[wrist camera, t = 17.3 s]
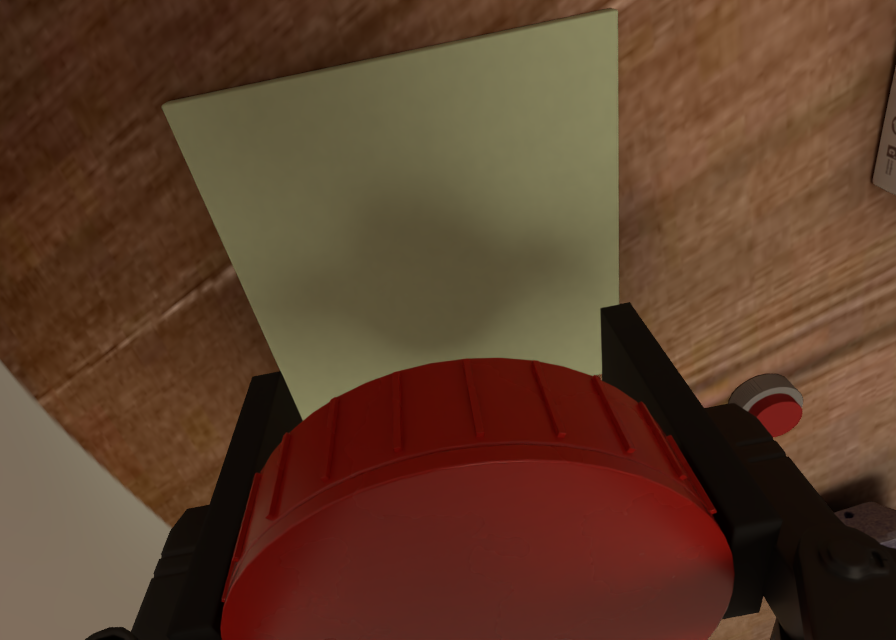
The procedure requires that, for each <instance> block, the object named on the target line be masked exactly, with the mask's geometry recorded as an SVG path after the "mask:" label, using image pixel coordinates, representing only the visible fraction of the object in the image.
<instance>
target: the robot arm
mask: <svg viewBox="0 0 896 640" xmlns="http://www.w3.org/2000/svg"><path fill="white" fill-rule="evenodd" d="M600 316H601V351H602V381H604V382H606V383H608V384H610V385H612V386H614V387H616V388H618V389H619V390H621V391H622V392H624V393H625V394H626V395H628V396H629V397H631V398H632V399H634V400H635V401H637V402H638V403H639V402H641V401H642V402H643V403H644V404H645V405H646V407H647V409H648V410H649V412H650V414H651V416H652V417H653V418H654V419H655V420H656V422H657V423H658V425H659V426H660V427H661V429H662V430H663V432H664V433H665V434H666V436H669V435H672V437H673V439H674V441H675V442H676V444H677V446H678V447H679V449H680V451H681V452H682V454H683V456H684V457H685V459H686V461H687V462H688V464H689V466H690V467H691V469H692V471H693V472H694V474H695V476H696V477H697V479H698V481H699V482H700V484H701V486H702V487H703V489H704V491H705V492H706V494H707V496H708V497H709V499H710V501H711V502H712V504H713V506H714V508H715V509H716V511H717V512H716V513H714V514H712V515H713V516H714V518H715V520H716V522H717V523H718V525H719V527H720V528H721V530H722V532H723V533H724V535H725V537H726V540H727V542H728V545H729V547H730V550H731V552H732V556H733V564H734V571H735V577H734V586H733V593H732V596H731V599H730V602H729V605H728V608H727V610H726V612H725V614H724V616H723V618H722V619H726V618H731V617H737V616H742V615H748V614H753V613H759V611H760V607H761V603H762V599H763V596H764V597H765V599H766V601H767V602H768V604H769V606H770V607H771V609H772V611H773V613H774V614H775V616H776V621H775V624H774V627H773V631H772V634H771V638H770V640H896V549H895V548H890V547H886V546H883V545H881V544H880V543H879V542H878V541H877V540H876V539H874V538H872V537H871V536H869V535H867V534H865V533H864V532H862V531H860V530H858V529H856V528H852V527H849V526H846V525H845V524H844V523H843V522H842V521H841V520H840V519H839V518H838V517H837V516H836V515H835V514H834V512H833V511H832V510H831V509H830V507H829V506H828V505H827V504H826V502H825V501H824V500H823V499H822V497H821V496H820V495H819V494H818V493H817V491H816V490H815V489H814V488H813V486H812V485H811V484H810V483H809V481H808V480H807V479H806V478H805V476H804V475H803V474H802V473H801V471H800V470H799V469H798V468H797V466H796V465H795V464H794V463H793V461H792V460H791V459H790V458H789V457H787V456H786V454H785V452H784V450H783V449H782V448H781V447H780V445H779V444H778V443H777V442H776V441H774V440H773V437H772V435H771V434H770V433H769V432H768V430H767V429H766V428H765V427H764V425H763V424H762V423H761V422H760V420H759V419H758V418H757V417H756V416H754V415H752V414H751V413H749V412H748V411H746V410H745V409H743V408H742V407H740V406H738V405H737V404H735V403H730V404H725V405H719V406H714V407H709V408H704V407H703V406H702V405H701V403H700V402H699V400H698V399H697V398H696V396H695V395H694V393H693V392H692V390H691V389H690V388H689V386H688V385H687V383H686V382H685V380H684V379H683V378H682V376H681V375H680V373H679V372H678V371H677V369H676V368H675V366H674V365H673V363H672V362H671V361H670V359H669V358H668V356H667V355H666V353H665V352H664V351H663V349H662V348H661V346H660V345H659V343H658V342H657V341H656V339H655V338H654V336H653V335H652V334H651V332H650V331H649V329H648V328H647V326H646V325H645V324H644V322H643V321H642V319H641V318H640V316H639V315H638V314H637V312H636V311H635V309H634V308H633V306H632V305H631V304H630V302H629V303H624V304H619V305H614V306H609V307H603V308H600ZM302 421H303V420H302V417H301V415H300V413H299V411H298V408H297V406H296V404H295V402H294V399H293V397H292V395H291V393H290V391H289V388H288V386H287V384H286V382H285V379H284V377H283V375H282V373H281V371H279V372H274V373H269V374H264V375H259V376H254V377H252V380H251V383H250V386H249V389H248V392H247V395H246V398H245V401H244V404H243V407H242V410H241V413H240V416H239V419H238V421H237V424H236V427H235V430H234V433H233V436H232V439H231V442H230V445H229V448H228V451H227V454H226V457H225V460H224V463H223V466H222V469H221V472H220V475H219V478H218V481H217V484H216V487H215V490H214V493H213V496H212V499H211V502H210V505H206V506H200V507H195V508H190V509H187V510H186V511H185V512H184V514H183V515H182V516H181V518H180V519H179V520H178V521H177V523H176V524H175V525H174V527H173V528H172V529H171V531H170V533H169V535H168V538H167V540H166V543H165V545H164V548H163V551H162V553H161V555H162V558H161V559H159V561H158V564H157V566H156V569H155V571H154V578H152V579H151V582H150V584H149V587H148V589H147V592H146V594H145V597H144V600H143V602H142V605H141V607H140V610H139V612H138V615H137V618H136V620H135V623H134V625H133V628H132V630H131V632H130V631H128V630H126V629H125V628H123V627H109V628H107V629H104V630H101V631H99V632H96V633H94V634H92V635H91V636H89V637H88V638H86V639H85V640H222V639H221V629H220V625H221V618H222V612H223V606H224V602H222V596H223V592H224V588H225V584H226V580H227V577H228V573H229V569H230V565H231V561H232V558H233V554H234V550H235V546H236V542H237V539H238V535H239V531H240V527H241V523H242V520H243V516H244V513H245V509H246V505H247V501H248V498H249V494H250V490H251V486H252V482H253V479H254V476H255V473H260V472H261V470H262V469H263V467H264V465H265V464H266V462H267V461H268V459H269V457H270V456H271V454H272V452H273V451H274V450H275V449H276V448H277V446H278V445H279V444H280V443H281V442H282V439H283V435H284V434H285V433H286V432H287V433H290V432H291V431H292V430H293V429H294V428H295V427H296V426H298V425H299V424H300V423H301V422H302Z"/></svg>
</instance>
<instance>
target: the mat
mask: <svg viewBox="0 0 896 640" xmlns="http://www.w3.org/2000/svg"><path fill="white" fill-rule="evenodd" d="M162 109H163V112H164V114H165V116H166V118H167V120H168V123H169V125H170V127H171V129H172V132H173V134H174V136H175V138H176V140H177V143H178V145H179V147H180V149H181V152H182V154H183V156H184V158H185V160H186V163H187V165H188V167H189V169H190V172H191V174H192V176H193V178H194V180H195V183H196V185H197V187H198V189H199V192H200V194H201V196H202V198H203V200H204V203H205V205H206V207H207V209H208V211H209V214H210V216H211V218H212V220H213V223H214V225H215V227H216V229H217V231H218V234H219V236H220V238H221V240H222V243H223V245H224V247H225V249H226V251H227V254H228V256H229V258H230V260H231V263H232V265H233V267H234V269H235V271H236V274H237V276H238V278H239V280H240V282H241V285H242V287H243V289H244V291H245V294H246V296H247V298H248V300H249V302H250V305H251V307H252V309H253V311H254V314H255V316H256V318H257V320H258V322H259V325H260V327H261V329H262V331H263V334H264V336H265V338H266V340H267V342H268V345H269V347H270V349H271V351H272V353H273V356H274V358H275V360H276V362H277V365H278V367H279V369H280V371H281V373H282V375H283V377H284V379H285V382H286V384H287V386H288V388H289V391H290V393H291V395H292V397H293V399H294V402H295V404H296V406H297V408H298V411H299V413H300V415H301V417H302V420H305V419H306V418H307V417H308V416H309V415H310V414H312V413H313V412H314V411H316V410H317V409H319V408H321V407H322V406H324V405H325V404H327V403H328V402H330V400H331V399H332V398H334V397H337V396H339V395H342V394H344V393H346V392H348V391H350V390H352V389H354V388H356V387H358V386H360V385H362V384H364V383H366V382H369V381H372V380H374V379H377V378H380V377H383V376H385V375H388V374H391V373H393V372H396V371H400V370H404V369H409V368H413V367H417V366H421V365H425V364H429V363H435V362H443V361H450V360H458V359H465V358H499V357H500V358H512V359H525V360H538V361H539V362H545V363H550V364H555V365H560V366H564V367H567V368H570V369H573V370H577V371H580V372H583V373H586V374H589V375H592V376H593V375H598V374H602V351H601V316H600V308H603V307H609V306H614V305H619V163H618V11H617V10H616V9H612V8H609V9H604V10H599V11H594V12H590V13H585V14H580V15H576V16H571V17H566V18H561V19H557V20H552V21H547V22H542V23H538V24H533V25H528V26H523V27H519V28H514V29H509V30H504V31H500V32H495V33H490V34H485V35H481V36H476V37H471V38H467V39H462V40H457V41H452V42H448V43H443V44H438V45H433V46H429V47H424V48H419V49H414V50H410V51H405V52H400V53H395V54H391V55H386V56H381V57H376V58H372V59H367V60H362V61H357V62H353V63H348V64H343V65H339V66H334V67H329V68H324V69H320V70H315V71H310V72H305V73H301V74H296V75H291V76H286V77H282V78H277V79H272V80H267V81H263V82H258V83H253V84H248V85H244V86H239V87H234V88H230V89H225V90H220V91H215V92H211V93H206V94H201V95H196V96H192V97H187V98H182V99H177V100H173V101H168V102H166V103H165V104H163V105H162Z"/></svg>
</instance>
